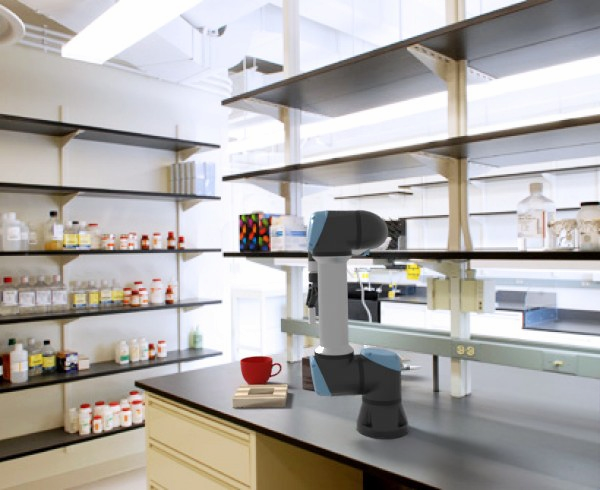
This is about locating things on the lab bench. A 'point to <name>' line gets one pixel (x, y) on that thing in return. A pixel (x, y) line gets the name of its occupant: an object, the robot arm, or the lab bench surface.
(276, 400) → the shallow beige tray
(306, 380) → the box
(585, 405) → the lab bench surface
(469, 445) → the lab bench surface
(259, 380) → the ceramic cup
